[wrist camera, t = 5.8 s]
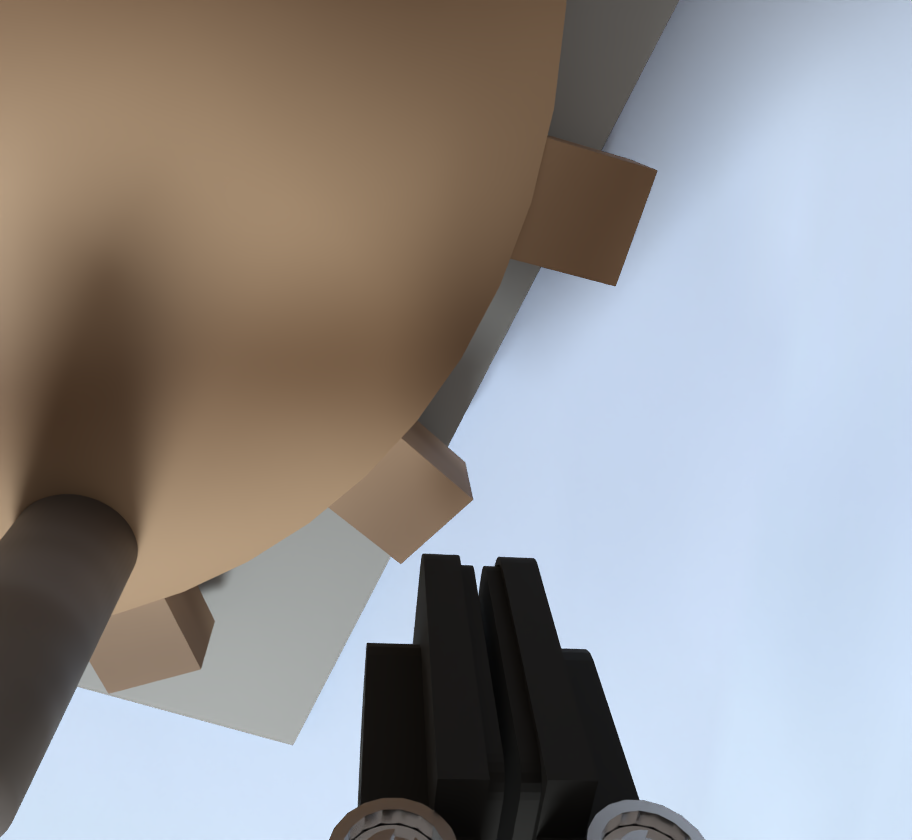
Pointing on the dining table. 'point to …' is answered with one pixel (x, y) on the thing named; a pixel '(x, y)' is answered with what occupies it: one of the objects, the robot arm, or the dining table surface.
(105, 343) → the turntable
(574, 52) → the turntable base
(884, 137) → the dining table surface
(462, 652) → the robot arm
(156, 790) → the dining table surface
